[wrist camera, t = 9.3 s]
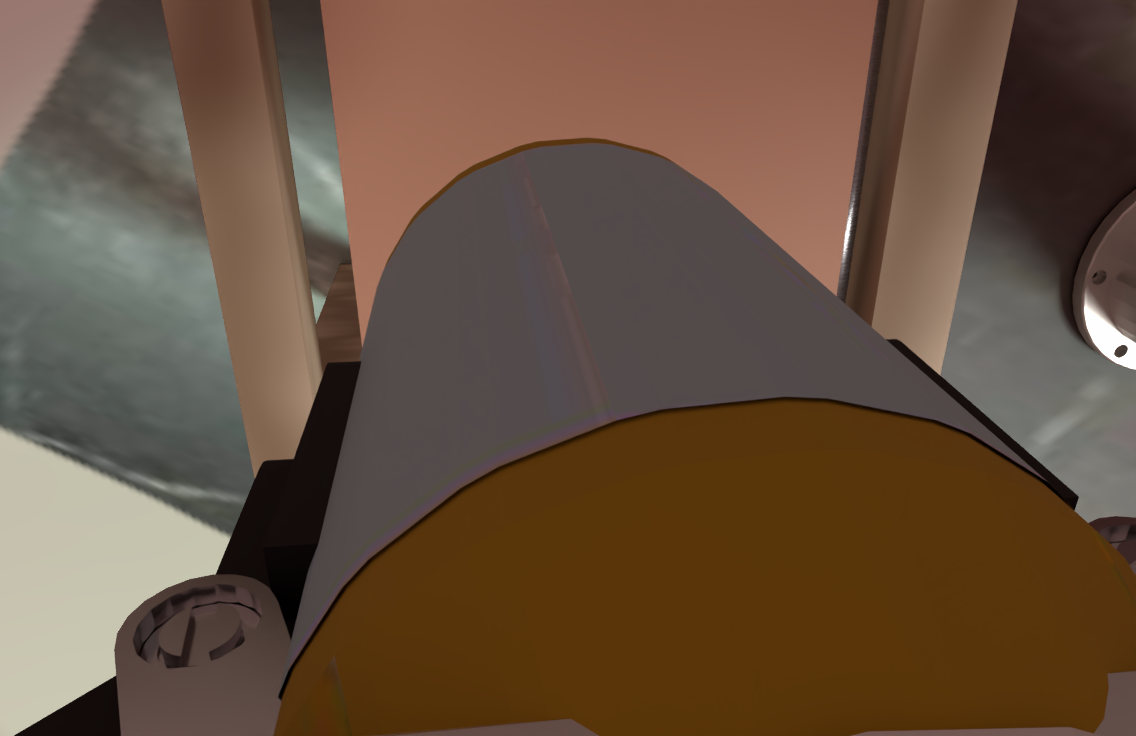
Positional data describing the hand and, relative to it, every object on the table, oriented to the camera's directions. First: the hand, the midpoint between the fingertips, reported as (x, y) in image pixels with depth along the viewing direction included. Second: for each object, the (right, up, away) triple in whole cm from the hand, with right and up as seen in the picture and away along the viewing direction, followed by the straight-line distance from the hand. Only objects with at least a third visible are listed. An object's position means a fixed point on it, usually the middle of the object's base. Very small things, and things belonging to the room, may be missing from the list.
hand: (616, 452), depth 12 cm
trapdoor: (+1, +6, +13) cm, 14 cm away
